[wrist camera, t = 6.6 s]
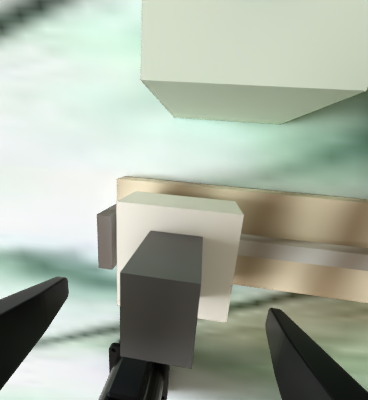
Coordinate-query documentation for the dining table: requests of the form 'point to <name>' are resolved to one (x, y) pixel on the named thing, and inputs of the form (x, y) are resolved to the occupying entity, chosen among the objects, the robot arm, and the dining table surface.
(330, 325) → the dining table surface
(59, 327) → the dining table surface
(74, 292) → the dining table surface
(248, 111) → the red push button box
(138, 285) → the carriage
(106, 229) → the rail board
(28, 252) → the dining table surface
